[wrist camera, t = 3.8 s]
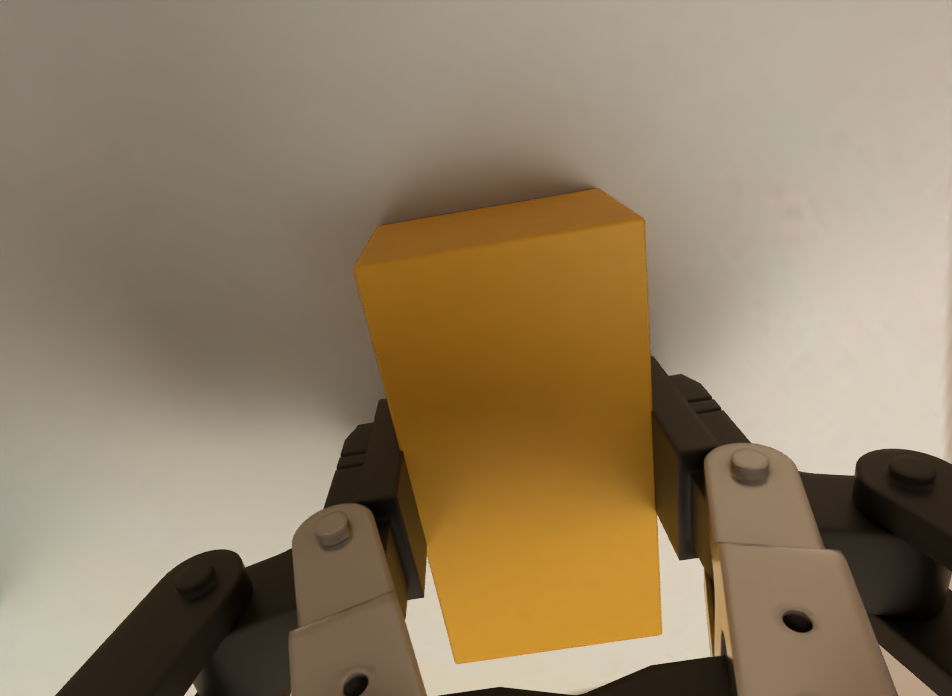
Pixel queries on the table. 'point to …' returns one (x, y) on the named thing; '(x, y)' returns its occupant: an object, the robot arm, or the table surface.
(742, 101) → the table surface
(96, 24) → the table surface
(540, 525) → the chunky yellow brick
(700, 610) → the table surface
